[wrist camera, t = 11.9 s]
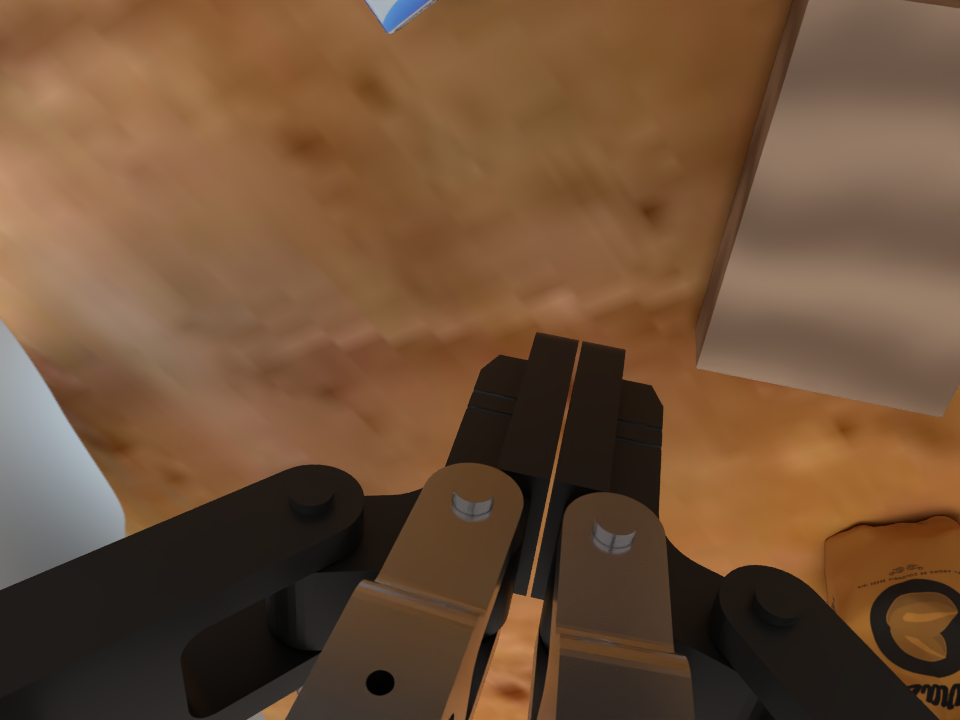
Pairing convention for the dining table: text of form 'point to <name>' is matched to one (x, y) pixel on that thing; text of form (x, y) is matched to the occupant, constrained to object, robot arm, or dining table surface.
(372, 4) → the medicine box
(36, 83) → the dining table surface
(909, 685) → the coffee package
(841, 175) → the deck
